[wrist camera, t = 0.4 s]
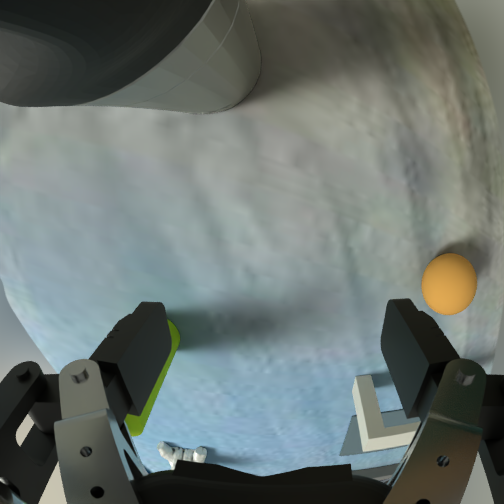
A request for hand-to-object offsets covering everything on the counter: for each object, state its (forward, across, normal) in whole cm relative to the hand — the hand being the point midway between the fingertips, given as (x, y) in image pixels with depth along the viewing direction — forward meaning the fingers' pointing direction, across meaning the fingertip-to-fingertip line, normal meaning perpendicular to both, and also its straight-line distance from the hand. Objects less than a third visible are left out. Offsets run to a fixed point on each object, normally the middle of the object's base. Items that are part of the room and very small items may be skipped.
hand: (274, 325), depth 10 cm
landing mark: (+19, -17, +36) cm, 44 cm away
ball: (+15, -17, +6) cm, 23 cm away
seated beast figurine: (+20, +17, +44) cm, 52 cm away
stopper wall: (+20, -17, +52) cm, 58 cm away
